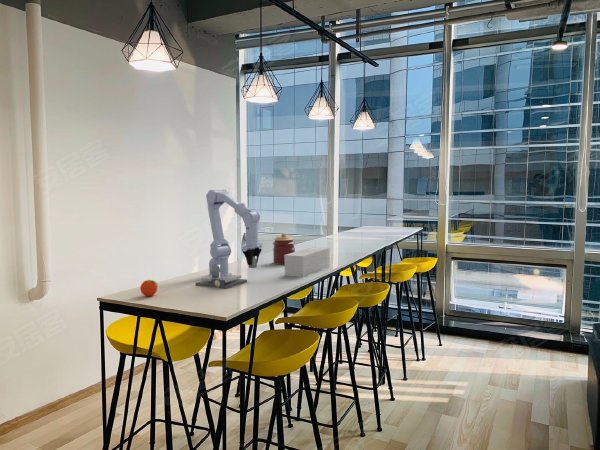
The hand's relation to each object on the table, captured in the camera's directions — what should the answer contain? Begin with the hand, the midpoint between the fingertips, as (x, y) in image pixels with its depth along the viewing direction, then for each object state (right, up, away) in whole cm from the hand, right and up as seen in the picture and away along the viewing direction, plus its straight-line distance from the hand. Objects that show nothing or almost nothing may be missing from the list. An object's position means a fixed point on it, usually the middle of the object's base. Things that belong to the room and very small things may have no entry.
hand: (252, 264), depth 231 cm
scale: (-14, -9, -6) cm, 18 cm away
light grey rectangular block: (+27, -6, +23) cm, 36 cm away
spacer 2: (0, -2, 0) cm, 2 cm away
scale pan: (-14, -7, -6) cm, 17 cm away
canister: (+14, -4, +49) cm, 51 cm away
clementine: (-41, -12, -29) cm, 51 cm away
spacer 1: (-17, -5, -5) cm, 18 cm away
